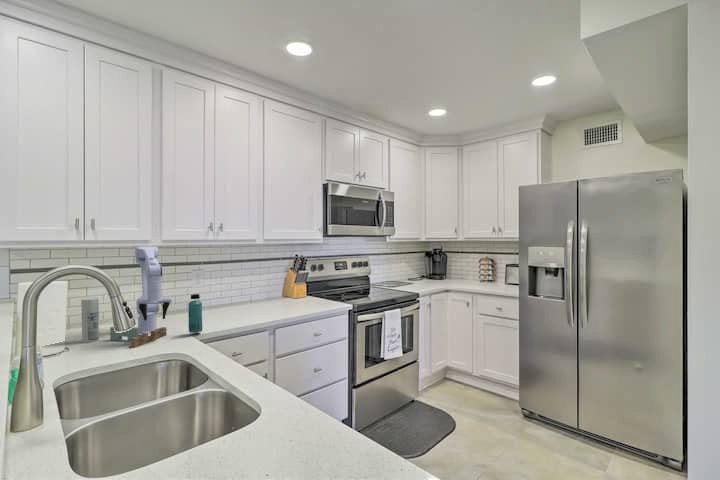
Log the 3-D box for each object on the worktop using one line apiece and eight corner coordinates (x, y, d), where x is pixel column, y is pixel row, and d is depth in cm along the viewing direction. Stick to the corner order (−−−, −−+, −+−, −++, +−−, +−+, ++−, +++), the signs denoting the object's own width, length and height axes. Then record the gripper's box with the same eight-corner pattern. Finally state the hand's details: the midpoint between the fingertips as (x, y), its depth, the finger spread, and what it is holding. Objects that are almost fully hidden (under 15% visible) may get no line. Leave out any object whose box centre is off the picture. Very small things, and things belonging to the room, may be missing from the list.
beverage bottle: (198, 331, 184) (198, 292, 184) (205, 334, 180) (204, 294, 180) (186, 334, 179) (185, 294, 179) (192, 336, 175) (191, 295, 175)
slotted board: (135, 347, 159) (135, 338, 159) (130, 347, 159) (130, 338, 159) (166, 335, 179) (166, 327, 179) (162, 335, 179) (162, 327, 179)
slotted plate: (110, 340, 171) (110, 327, 171) (113, 338, 173) (113, 326, 173) (136, 341, 169) (136, 328, 169) (139, 340, 171) (139, 327, 171)
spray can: (90, 338, 174) (90, 297, 174) (102, 339, 173) (101, 297, 173) (78, 342, 168) (77, 299, 167) (90, 343, 167) (89, 299, 166)
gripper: (134, 292, 164) (134, 322, 164) (170, 290, 168) (170, 319, 168) (138, 290, 170) (138, 319, 171) (172, 288, 175) (173, 316, 175)
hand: (154, 319), depth 170 cm, fingers open, 7 cm apart
